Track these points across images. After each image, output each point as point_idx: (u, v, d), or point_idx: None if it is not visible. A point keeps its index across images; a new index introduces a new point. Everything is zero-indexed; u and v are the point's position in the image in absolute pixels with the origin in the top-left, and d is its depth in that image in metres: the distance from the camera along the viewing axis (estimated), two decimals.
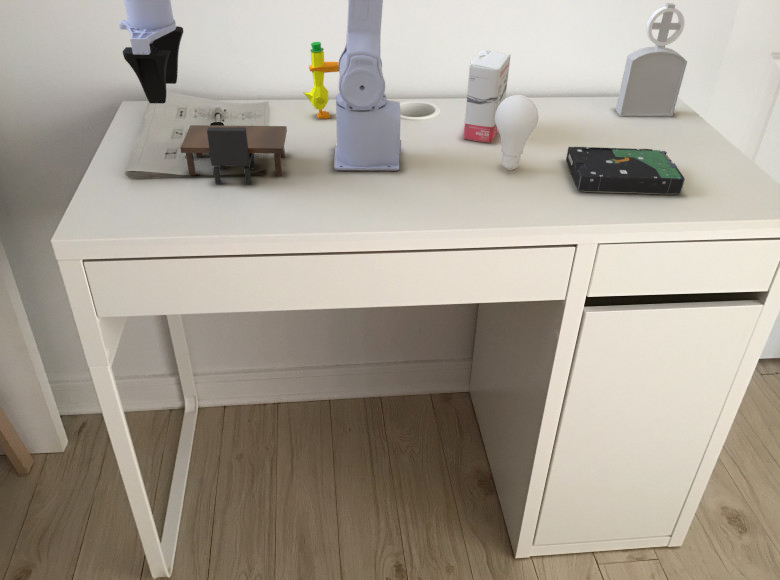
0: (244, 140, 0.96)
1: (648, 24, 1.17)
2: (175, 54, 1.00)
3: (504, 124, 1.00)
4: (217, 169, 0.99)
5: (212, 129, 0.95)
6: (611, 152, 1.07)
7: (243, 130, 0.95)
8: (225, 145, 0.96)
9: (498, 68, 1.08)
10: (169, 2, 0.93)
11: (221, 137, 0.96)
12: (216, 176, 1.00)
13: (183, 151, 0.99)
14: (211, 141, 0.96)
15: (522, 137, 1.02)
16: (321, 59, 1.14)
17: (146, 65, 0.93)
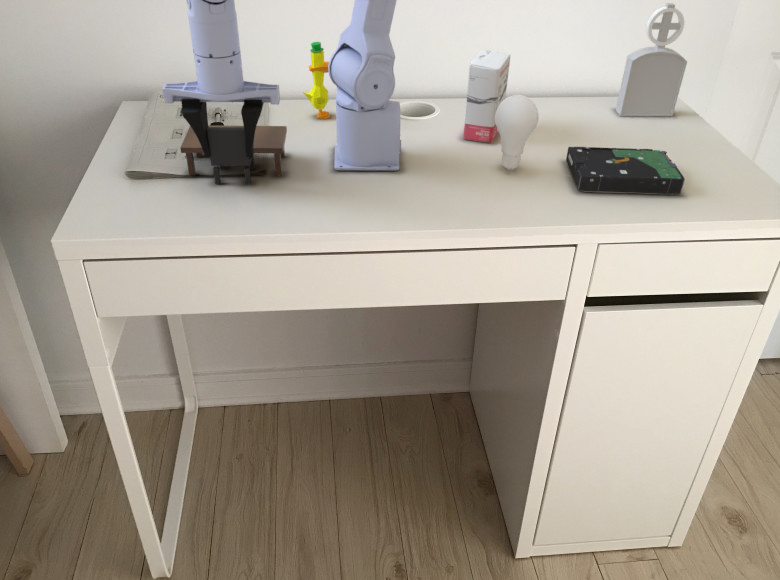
0: (244, 140, 0.96)
1: (648, 24, 1.17)
2: (244, 130, 0.94)
3: (504, 124, 1.00)
4: (217, 169, 0.99)
5: (212, 129, 0.95)
6: (611, 152, 1.07)
7: (243, 130, 0.95)
8: (225, 145, 0.96)
9: (498, 68, 1.08)
10: (214, 73, 0.88)
11: (221, 137, 0.96)
12: (216, 176, 1.00)
13: (183, 151, 0.99)
14: (211, 141, 0.96)
15: (522, 137, 1.02)
16: (321, 59, 1.14)
17: None
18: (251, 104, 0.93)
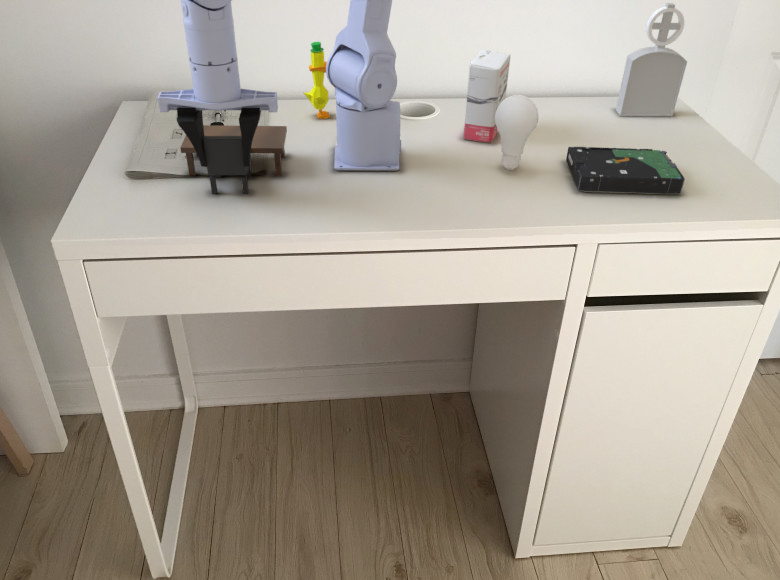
0: (241, 149, 0.94)
1: (648, 24, 1.17)
2: (242, 139, 0.92)
3: (504, 124, 1.00)
4: (213, 178, 0.97)
5: (208, 137, 0.93)
6: (611, 152, 1.07)
7: (240, 139, 0.93)
8: (221, 154, 0.94)
9: (498, 68, 1.08)
10: (210, 81, 0.86)
11: (218, 146, 0.93)
12: (212, 186, 0.97)
13: (183, 151, 0.99)
14: (207, 150, 0.94)
15: (522, 137, 1.02)
16: (321, 59, 1.14)
17: None
18: (249, 112, 0.91)
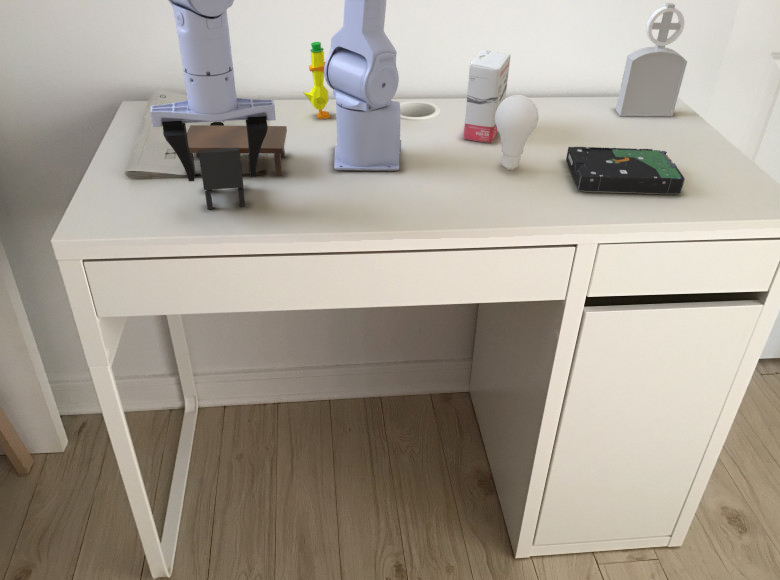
0: (238, 161, 0.91)
1: (648, 24, 1.17)
2: (249, 149, 0.89)
3: (504, 124, 1.00)
4: (209, 193, 0.93)
5: (204, 151, 0.90)
6: (611, 152, 1.07)
7: (237, 150, 0.90)
8: (218, 167, 0.91)
9: (498, 68, 1.08)
10: (209, 92, 0.83)
11: (214, 159, 0.90)
12: (208, 201, 0.94)
13: None
14: (203, 164, 0.90)
15: (522, 137, 1.02)
16: (321, 59, 1.14)
17: None
18: (255, 121, 0.88)
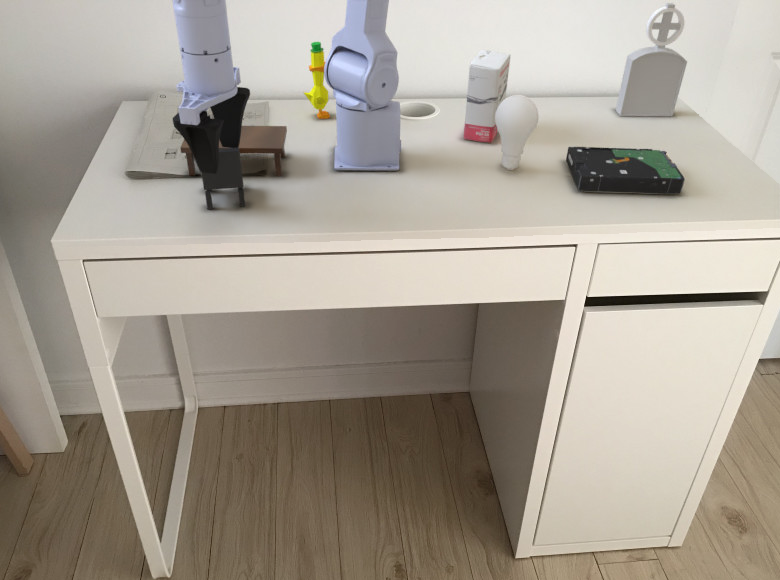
0: (238, 161, 0.91)
1: (648, 24, 1.17)
2: (238, 118, 0.91)
3: (504, 124, 1.00)
4: (209, 193, 0.93)
5: None
6: (611, 152, 1.07)
7: (237, 150, 0.90)
8: None
9: (498, 68, 1.08)
10: (230, 66, 0.83)
11: None
12: (208, 201, 0.94)
13: (183, 151, 0.99)
14: None
15: (522, 137, 1.02)
16: (321, 59, 1.14)
17: (198, 133, 0.84)
18: None
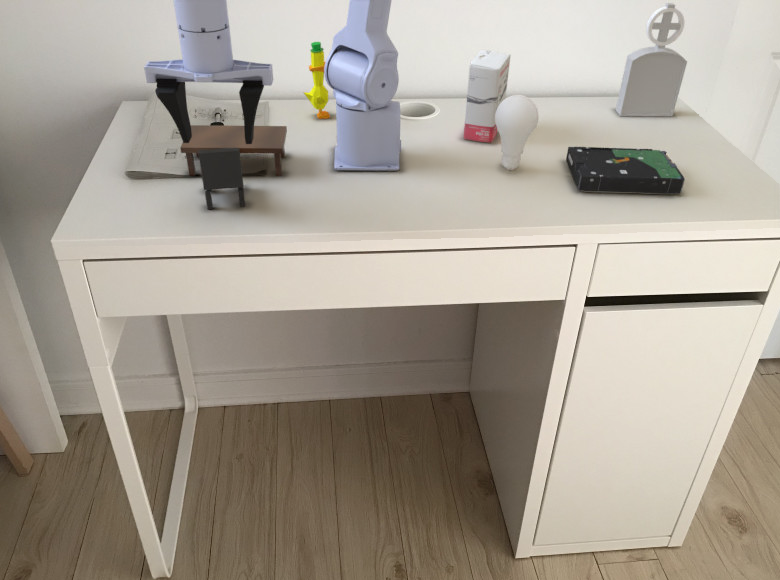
0: (238, 161, 0.91)
1: (648, 24, 1.17)
2: (186, 103, 0.88)
3: (504, 124, 1.00)
4: (209, 193, 0.93)
5: (204, 151, 0.90)
6: (611, 152, 1.07)
7: (237, 150, 0.90)
8: (218, 167, 0.91)
9: (498, 68, 1.08)
10: None
11: (214, 159, 0.90)
12: (208, 201, 0.94)
13: (183, 151, 0.99)
14: (203, 164, 0.90)
15: (522, 137, 1.02)
16: (321, 59, 1.14)
17: None
18: None
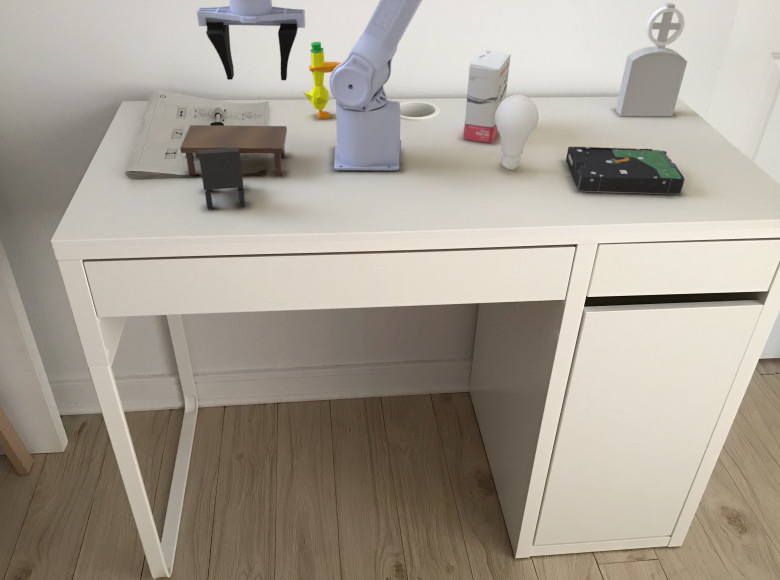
0: (238, 161, 0.91)
1: (648, 24, 1.17)
2: (229, 45, 1.03)
3: (504, 124, 1.00)
4: (209, 193, 0.93)
5: (204, 151, 0.90)
6: (611, 152, 1.07)
7: (237, 150, 0.90)
8: (218, 167, 0.91)
9: (498, 68, 1.08)
10: None
11: (214, 159, 0.90)
12: (208, 201, 0.94)
13: (183, 151, 0.99)
14: (203, 164, 0.90)
15: (522, 137, 1.02)
16: (321, 59, 1.14)
17: None
18: None
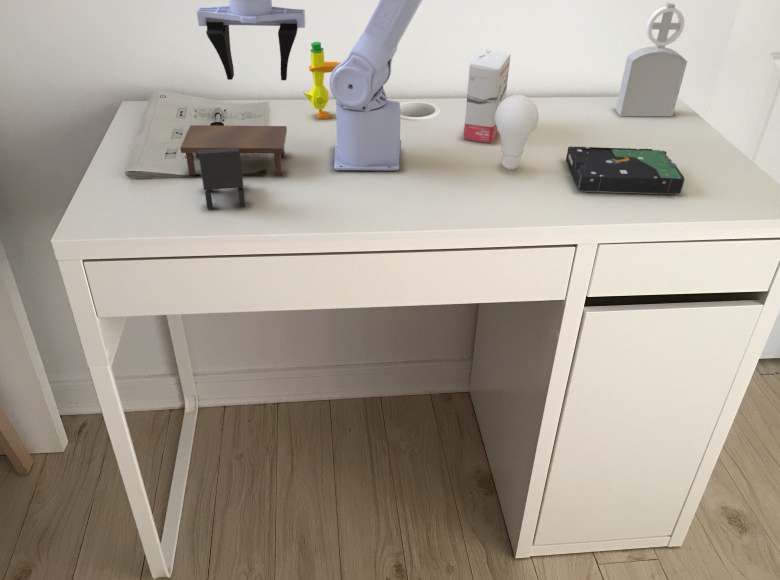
0: (238, 161, 0.91)
1: (648, 24, 1.17)
2: (229, 45, 1.03)
3: (504, 124, 1.00)
4: (209, 193, 0.93)
5: (204, 151, 0.90)
6: (611, 152, 1.07)
7: (237, 150, 0.90)
8: (218, 167, 0.91)
9: (498, 68, 1.08)
10: None
11: (214, 159, 0.90)
12: (208, 201, 0.94)
13: (183, 151, 0.99)
14: (203, 164, 0.90)
15: (522, 137, 1.02)
16: (321, 59, 1.14)
17: None
18: None
